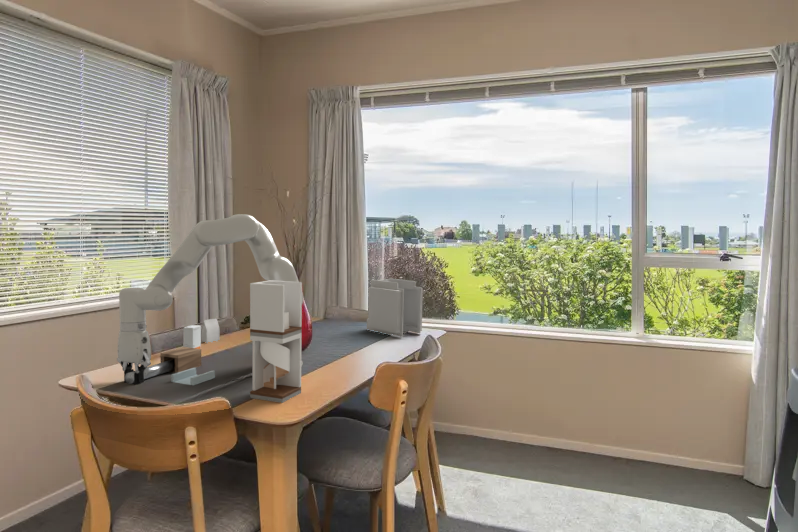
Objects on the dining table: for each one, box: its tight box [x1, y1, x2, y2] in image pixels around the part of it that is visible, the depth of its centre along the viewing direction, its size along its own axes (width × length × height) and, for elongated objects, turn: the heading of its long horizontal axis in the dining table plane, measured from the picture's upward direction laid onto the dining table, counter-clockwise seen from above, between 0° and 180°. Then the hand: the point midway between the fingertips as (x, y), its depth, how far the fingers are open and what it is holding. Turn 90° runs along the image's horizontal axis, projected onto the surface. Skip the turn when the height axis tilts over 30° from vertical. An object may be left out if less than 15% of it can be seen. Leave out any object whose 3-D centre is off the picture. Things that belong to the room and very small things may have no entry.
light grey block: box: [201, 318, 221, 344], centre depth 247 cm, size 4×7×10 cm, turn 146°
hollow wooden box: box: [159, 346, 202, 374], centre depth 196 cm, size 8×11×8 cm
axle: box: [125, 360, 174, 385], centre depth 183 cm, size 17×4×4 cm, turn 157°
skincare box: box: [182, 324, 202, 350], centre depth 219 cm, size 6×4×12 cm
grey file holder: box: [366, 277, 424, 337], centre depth 274 cm, size 17×27×26 cm, turn 44°
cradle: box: [170, 367, 216, 386], centre depth 181 cm, size 9×10×4 cm
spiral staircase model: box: [249, 280, 303, 404], centre depth 170 cm, size 11×11×35 cm
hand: (134, 382), depth 177 cm, fingers closed on axle, 3 cm apart
